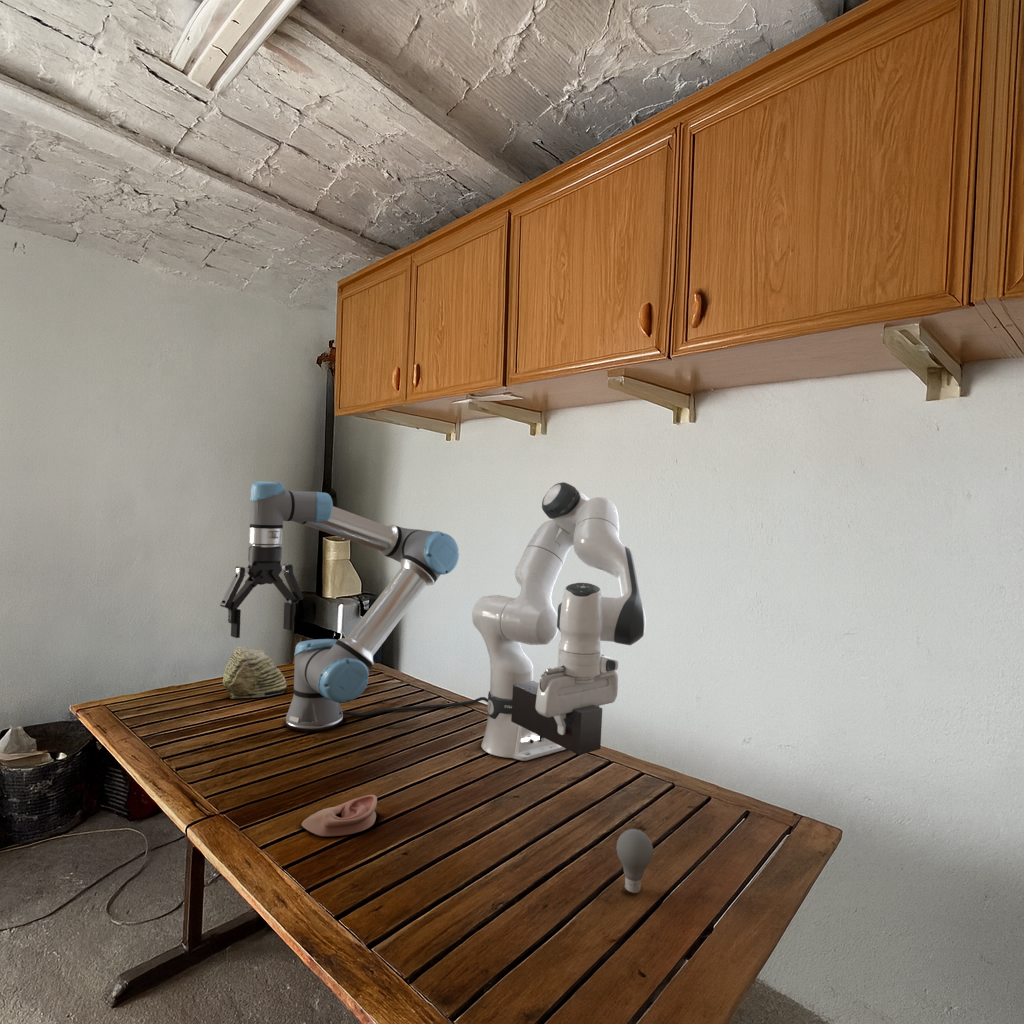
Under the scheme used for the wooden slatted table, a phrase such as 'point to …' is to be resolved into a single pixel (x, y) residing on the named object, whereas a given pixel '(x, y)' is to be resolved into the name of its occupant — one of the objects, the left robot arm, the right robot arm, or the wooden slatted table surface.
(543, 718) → the box
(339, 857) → the wooden slatted table surface
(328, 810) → the anatomical model
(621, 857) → the light bulb
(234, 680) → the fossil
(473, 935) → the wooden slatted table surface
